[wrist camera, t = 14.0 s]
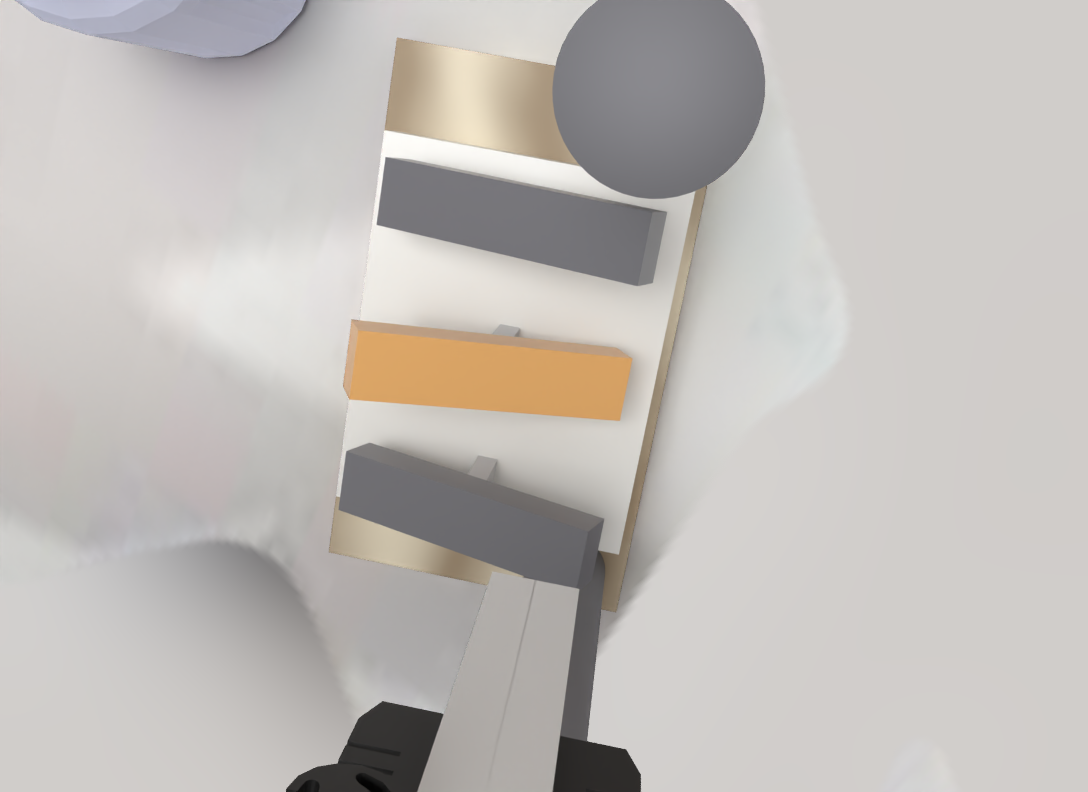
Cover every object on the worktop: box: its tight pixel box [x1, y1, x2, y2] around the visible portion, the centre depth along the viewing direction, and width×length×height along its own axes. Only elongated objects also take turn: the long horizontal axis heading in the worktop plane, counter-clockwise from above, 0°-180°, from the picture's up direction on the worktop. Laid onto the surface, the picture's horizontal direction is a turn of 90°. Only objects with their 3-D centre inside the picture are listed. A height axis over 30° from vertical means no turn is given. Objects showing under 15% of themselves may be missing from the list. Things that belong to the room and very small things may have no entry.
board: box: [329, 38, 707, 612], centre depth 43 cm, size 13×22×2 cm, turn 170°
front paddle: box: [377, 157, 667, 286], centre depth 35 cm, size 10×2×2 cm, turn 79°
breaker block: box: [336, 130, 695, 555], centre depth 40 cm, size 12×15×5 cm
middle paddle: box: [343, 320, 632, 421], centre depth 36 cm, size 10×2×2 cm, turn 81°
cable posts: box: [523, 0, 765, 741], centre depth 30 cm, size 3×22×24 cm, turn 170°
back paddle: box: [338, 443, 604, 591], centre depth 38 cm, size 10×2×2 cm, turn 79°
